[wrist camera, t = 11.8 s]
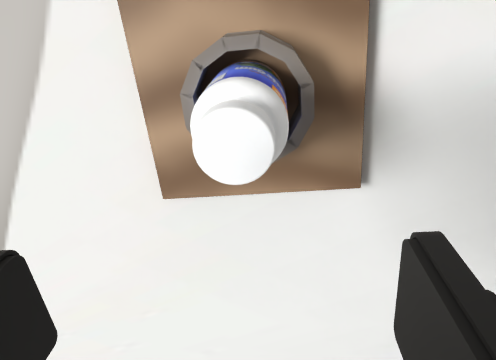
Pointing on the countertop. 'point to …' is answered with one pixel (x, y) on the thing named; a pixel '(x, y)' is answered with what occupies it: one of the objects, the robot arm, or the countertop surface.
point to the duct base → (269, 53)
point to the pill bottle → (240, 123)
